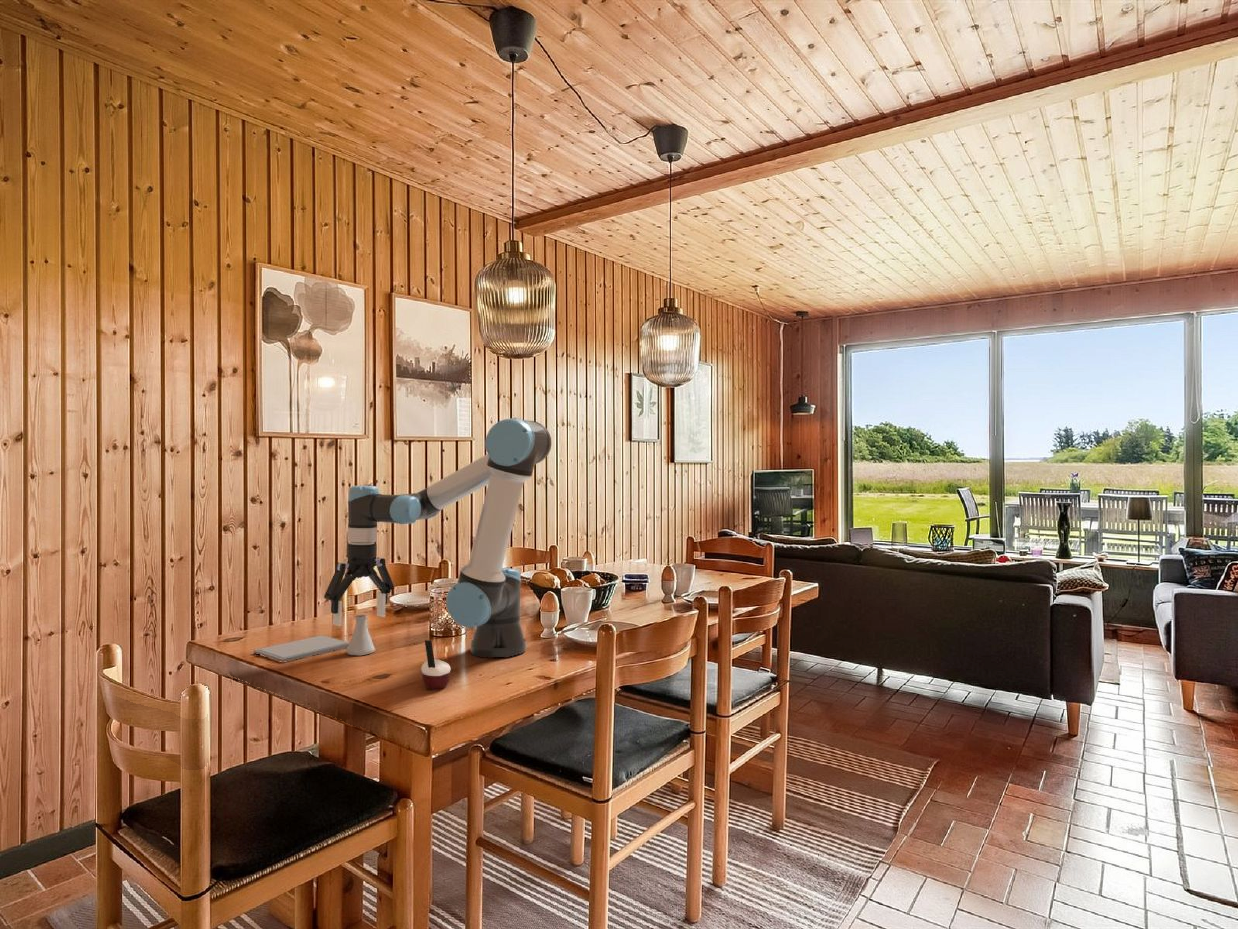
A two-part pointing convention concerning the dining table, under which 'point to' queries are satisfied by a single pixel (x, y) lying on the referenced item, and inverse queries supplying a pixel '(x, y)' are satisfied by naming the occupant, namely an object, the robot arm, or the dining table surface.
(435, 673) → the cocoa
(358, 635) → the flask
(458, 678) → the dining table surface
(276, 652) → the slate board
